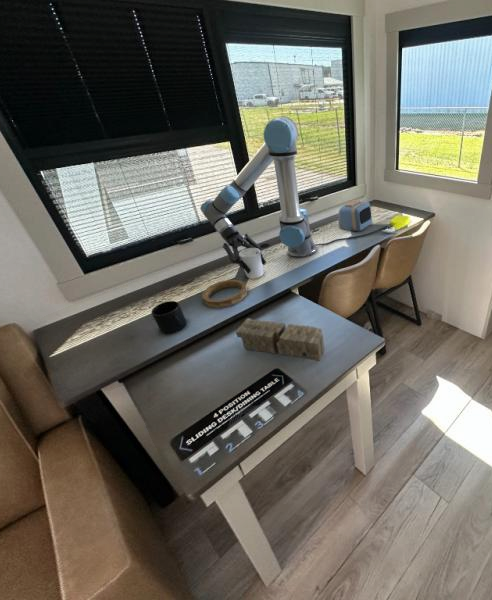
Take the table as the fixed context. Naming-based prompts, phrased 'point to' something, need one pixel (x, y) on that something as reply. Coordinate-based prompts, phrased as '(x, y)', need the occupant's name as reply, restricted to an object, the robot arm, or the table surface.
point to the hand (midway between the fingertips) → (257, 267)
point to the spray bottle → (398, 223)
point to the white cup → (252, 262)
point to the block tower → (282, 338)
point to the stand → (227, 301)
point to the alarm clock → (355, 215)
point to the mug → (169, 317)
